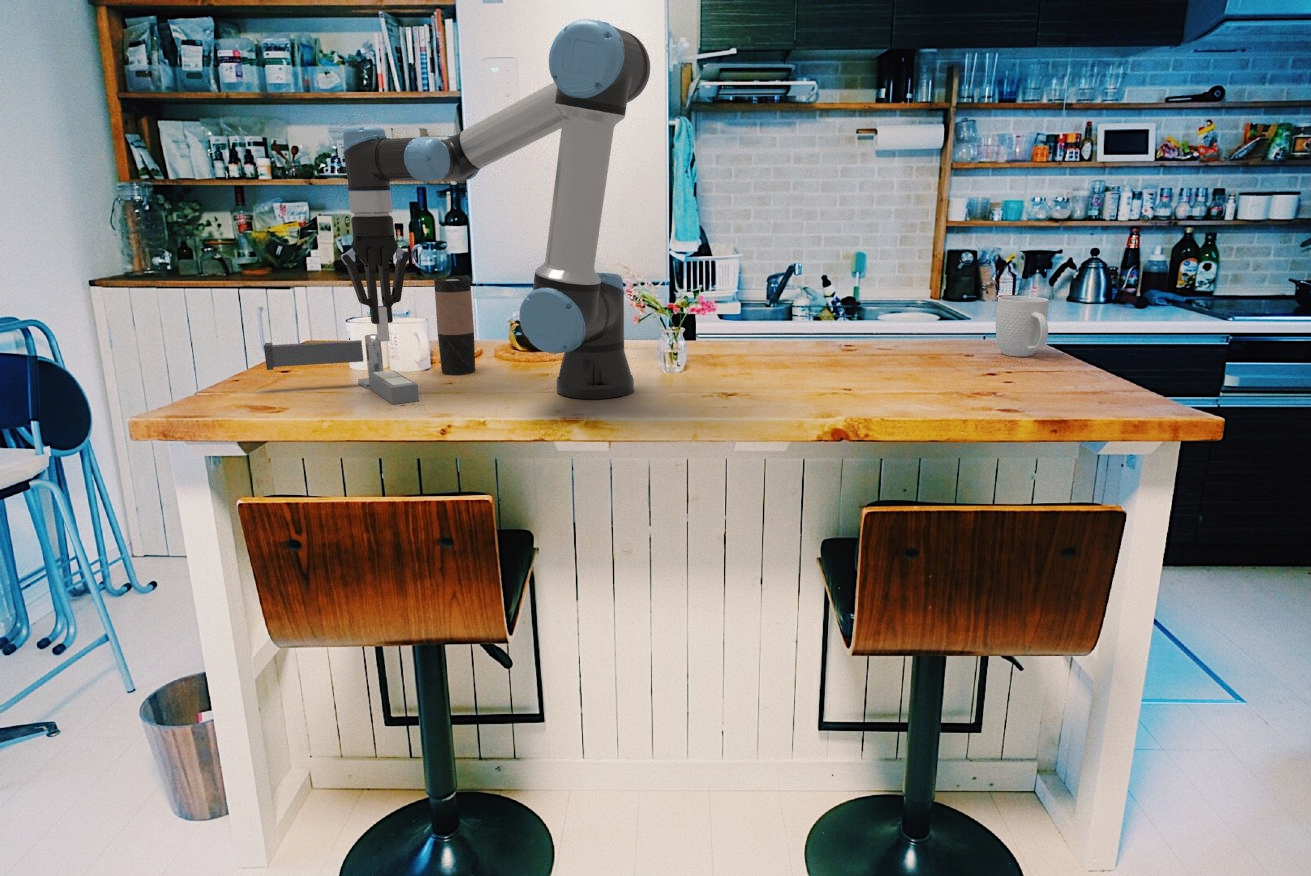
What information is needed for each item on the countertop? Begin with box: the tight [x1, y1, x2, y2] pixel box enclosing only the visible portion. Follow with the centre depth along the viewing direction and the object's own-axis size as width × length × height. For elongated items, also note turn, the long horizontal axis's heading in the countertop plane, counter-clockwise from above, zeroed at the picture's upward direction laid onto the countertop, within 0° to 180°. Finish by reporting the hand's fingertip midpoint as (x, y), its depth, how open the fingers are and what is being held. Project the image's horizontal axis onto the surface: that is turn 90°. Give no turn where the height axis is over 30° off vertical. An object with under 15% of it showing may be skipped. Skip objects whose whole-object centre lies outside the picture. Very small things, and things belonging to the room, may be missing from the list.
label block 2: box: [380, 376, 420, 405], centre depth 169 cm, size 8×5×4 cm, turn 32°
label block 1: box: [368, 369, 405, 398], centre depth 175 cm, size 8×5×4 cm, turn 32°
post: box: [357, 333, 385, 389], centre depth 180 cm, size 6×6×10 cm
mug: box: [995, 295, 1050, 358], centre depth 205 cm, size 15×11×13 cm
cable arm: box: [263, 339, 364, 371], centre depth 176 cm, size 18×3×5 cm, turn 107°
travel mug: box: [433, 276, 476, 376], centre depth 190 cm, size 8×8×20 cm
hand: (383, 340), depth 172 cm, fingers closed
